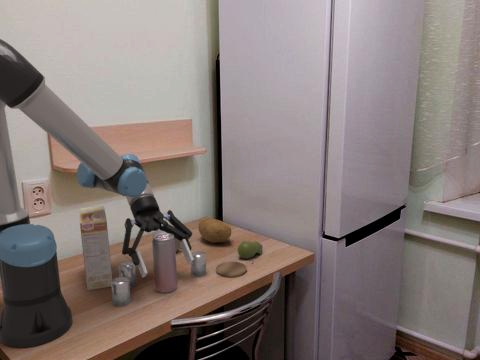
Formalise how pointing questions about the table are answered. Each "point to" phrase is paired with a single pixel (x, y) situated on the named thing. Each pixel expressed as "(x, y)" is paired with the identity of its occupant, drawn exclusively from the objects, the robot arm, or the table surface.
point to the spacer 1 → (120, 291)
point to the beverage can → (164, 262)
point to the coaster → (231, 269)
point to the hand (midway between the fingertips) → (168, 268)
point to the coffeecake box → (95, 247)
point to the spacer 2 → (198, 264)
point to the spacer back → (128, 272)
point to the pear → (249, 249)
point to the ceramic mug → (177, 242)
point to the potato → (214, 230)
